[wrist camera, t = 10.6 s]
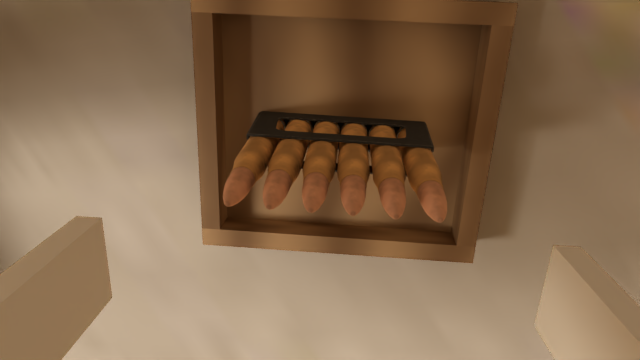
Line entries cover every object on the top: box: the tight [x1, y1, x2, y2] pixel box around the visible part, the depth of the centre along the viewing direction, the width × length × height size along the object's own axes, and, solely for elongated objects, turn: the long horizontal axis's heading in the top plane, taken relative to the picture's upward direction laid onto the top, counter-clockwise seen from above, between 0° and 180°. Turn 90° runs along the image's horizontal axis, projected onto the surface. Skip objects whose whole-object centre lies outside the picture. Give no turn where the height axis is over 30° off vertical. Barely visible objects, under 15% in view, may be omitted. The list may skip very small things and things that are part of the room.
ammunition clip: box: [223, 111, 447, 223], centre depth 25 cm, size 11×2×12 cm, turn 87°
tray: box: [191, 0, 518, 263], centre depth 30 cm, size 18×16×3 cm
